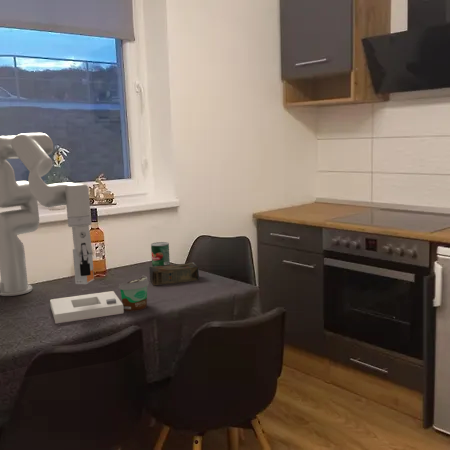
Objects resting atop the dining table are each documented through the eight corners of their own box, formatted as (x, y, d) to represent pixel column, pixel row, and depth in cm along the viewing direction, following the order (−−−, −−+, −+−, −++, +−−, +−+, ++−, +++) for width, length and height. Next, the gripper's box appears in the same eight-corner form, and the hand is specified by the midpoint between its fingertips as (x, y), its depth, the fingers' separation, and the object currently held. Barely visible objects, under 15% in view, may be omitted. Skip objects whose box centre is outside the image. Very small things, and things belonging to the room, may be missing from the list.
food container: (134, 314, 182) (132, 285, 181) (120, 312, 185) (118, 283, 184) (157, 304, 192) (156, 276, 191) (144, 302, 196) (142, 274, 194)
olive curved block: (199, 280, 222) (199, 265, 221) (153, 286, 216) (152, 270, 215) (194, 276, 229) (193, 260, 228) (149, 281, 223) (148, 266, 222)
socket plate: (55, 323, 176) (54, 311, 175) (50, 307, 193) (49, 296, 192) (123, 313, 184) (123, 301, 183) (113, 298, 201) (112, 288, 200)
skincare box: (87, 284, 183) (84, 249, 181) (75, 284, 184) (72, 249, 182) (94, 279, 189) (92, 245, 187) (83, 279, 190) (80, 245, 188)
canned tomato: (149, 270, 241) (148, 245, 240) (155, 265, 249) (153, 241, 247) (167, 270, 240) (166, 245, 238) (172, 265, 248) (170, 241, 246)
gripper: (95, 223, 176) (99, 277, 179) (87, 216, 192) (91, 266, 195) (70, 225, 174) (75, 280, 177) (65, 218, 190) (69, 269, 193)
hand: (84, 272), depth 186 cm, fingers closed on skincare box, 7 cm apart
